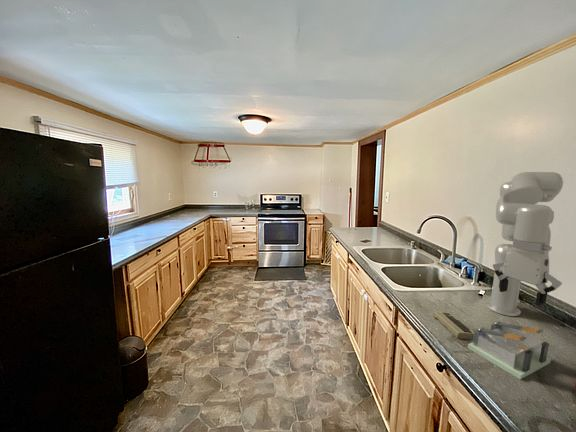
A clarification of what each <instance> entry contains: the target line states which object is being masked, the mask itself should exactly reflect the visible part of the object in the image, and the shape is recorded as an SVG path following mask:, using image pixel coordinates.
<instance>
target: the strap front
mask: <svg viewBox="0 0 576 432" xmlns="http://www.w3.org/2000/svg"><path fill="white" fill-rule="evenodd" d="M477 331H479V332H482V333H487V334H492V335H496V336H501V337H505V338H510V339H515V340H519V341H523V340H525V339H526V337H524V336H519V335H514V334H509V333H503V332H498V331H492V330H491V329H486V328H485V329H484V327H481V328H479V329H477Z"/></svg>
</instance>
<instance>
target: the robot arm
mask: <svg viewBox="0 0 576 432" xmlns="http://www.w3.org/2000/svg"><path fill="white" fill-rule="evenodd" d="M563 186H564V179H563V177H562V175H561V174H560V173H558V172H554V171H525V172H519V173H516V174H515V175H513V177H512V178H511V181H505V182H504V183H502V184H501V186H500V189H499V195H500V196H499V198H498V200H497V202H496V206H495V218H496V221H497V222H498V224H501V225H502V226H501V227H502V228H501V237H502V238H503V240H504V241H505V240H506V241H508V242H512V243H511V244H510V243H501V244H498V245H497V246H496V247H495V249H494V261H495V262H494V263H493V264H492V268H493V270H494V273H493V274H494V275H493V279H492V280H493V282H492V287H491V288H492V289H491V295H490V300H488V301H486V302H485V306H486V308H488V309H489V310H490V311H492V312H494V313H497V314H500V315H504V316H508V317H519V316H520V315H521V313H522V311H521V310H520V309H519V308H518V304H520V303H521V300H520V299H519V295H520V289H521V284H522V282H524V283H526V284H529V285H534V286H535V287H536V288H537V290H538V291H537V293H536V298H535V306H541V305H544V304H546V301H547V298H548V293H550V292H553V291H556V290H557V289H558V288H560V287H561V286H562V284H563V282H562V281H560V280H559V279H557V278H555V277H554V276H553V275H552V274H550V257H549V256H550V255H549V251H550V252H551V251H552V246H551V245H550V243H551V236H552V235H551V234H552V233H551V228H550V224H552V223H553V222H554V219H555V212H554V210H553V209H552V208H551V207H550V206H549V205H545V204H538V203H549V202H550V203H551V201H553V200H554V199H555V198H556V197H557V196H558V195H559V194H560V192H561V191H562V189H563ZM548 282H550V283H551V284H550V285H549V286H547V283H548Z"/></svg>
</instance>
